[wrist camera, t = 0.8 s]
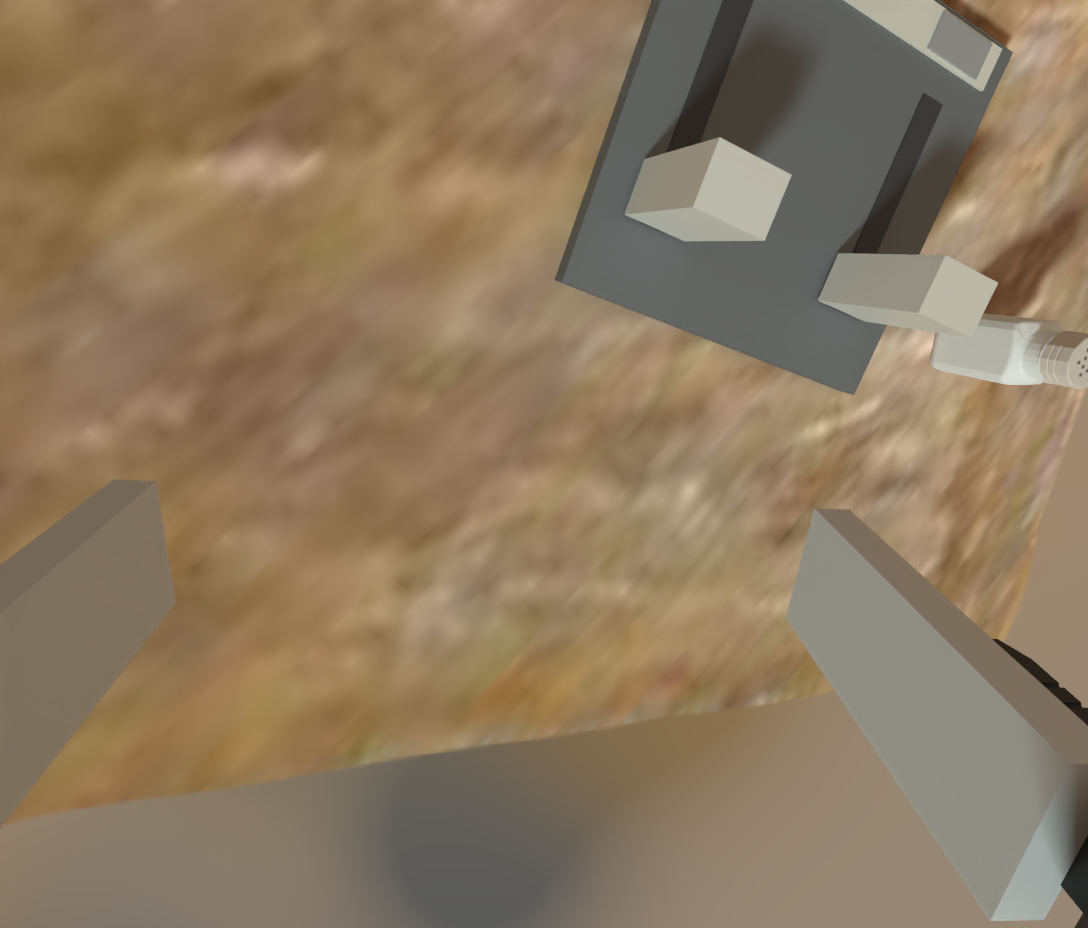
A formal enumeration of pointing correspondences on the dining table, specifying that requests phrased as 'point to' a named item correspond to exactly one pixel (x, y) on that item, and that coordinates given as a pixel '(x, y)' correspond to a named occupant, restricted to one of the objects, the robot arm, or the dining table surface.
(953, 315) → the tab
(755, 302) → the switch panel
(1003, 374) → the pepper shaker
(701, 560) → the dining table surface
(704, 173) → the tab
